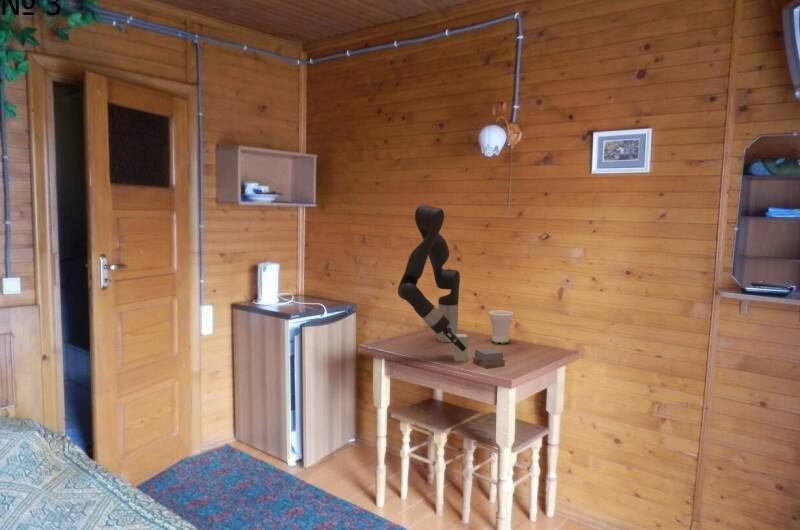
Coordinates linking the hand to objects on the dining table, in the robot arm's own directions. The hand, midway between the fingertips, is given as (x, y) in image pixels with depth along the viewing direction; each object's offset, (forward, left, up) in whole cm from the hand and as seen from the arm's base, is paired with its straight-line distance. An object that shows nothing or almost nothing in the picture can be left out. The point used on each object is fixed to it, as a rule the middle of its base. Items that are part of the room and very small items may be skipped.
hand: (462, 347), depth 237 cm
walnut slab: (+11, +5, -6) cm, 13 cm away
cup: (-16, +32, -5) cm, 37 cm away
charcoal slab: (+11, +5, -3) cm, 12 cm away
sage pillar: (0, -1, -5) cm, 5 cm away
